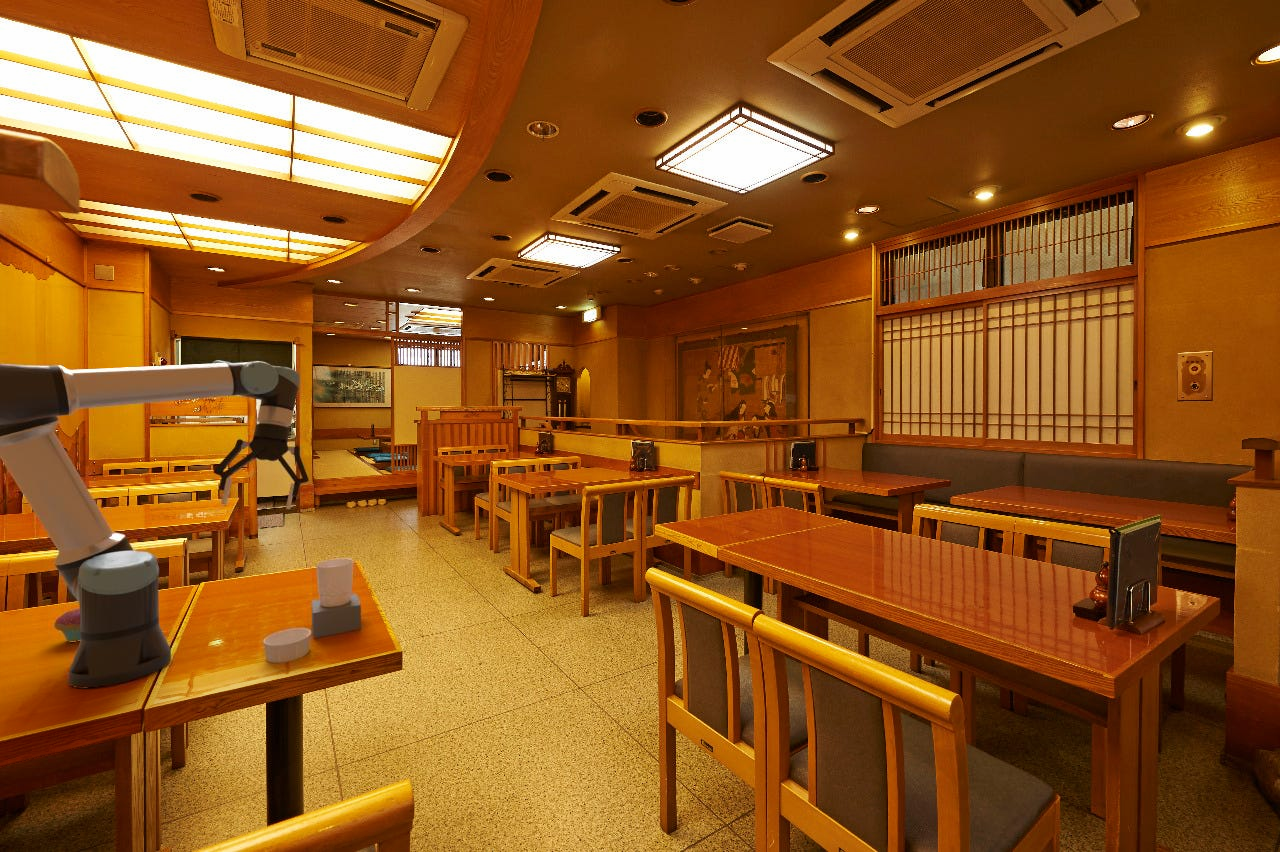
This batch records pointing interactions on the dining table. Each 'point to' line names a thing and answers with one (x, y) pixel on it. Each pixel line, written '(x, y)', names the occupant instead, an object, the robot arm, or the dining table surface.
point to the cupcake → (70, 625)
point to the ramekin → (287, 645)
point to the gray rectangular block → (336, 618)
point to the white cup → (335, 581)
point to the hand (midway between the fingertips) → (256, 506)
